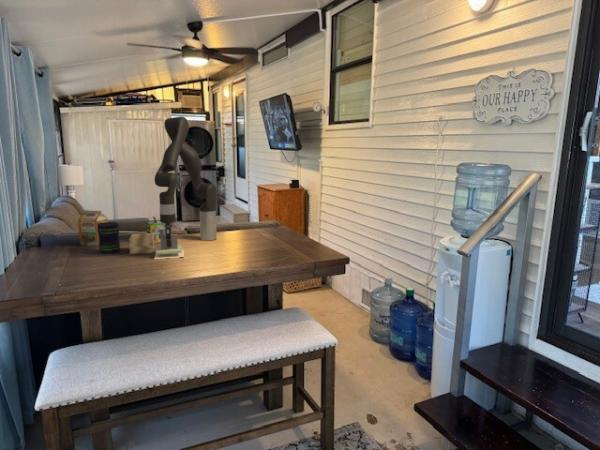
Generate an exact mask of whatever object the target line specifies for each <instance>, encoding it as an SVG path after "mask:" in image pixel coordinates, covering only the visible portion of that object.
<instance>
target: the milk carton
mask: <svg viewBox="0 0 600 450" xmlns="http://www.w3.org/2000/svg"><path fill="white" fill-rule="evenodd" d="M108 219H109V218H108V217H107V215H105V214H104V213H102V210H88V209H87V210H83V211H82V214H81V215H80V216H79V218H78V220H77V222H78V223H77V224H78V226H77V227H78V235H79V245H80V247H95V248H99V235H98V224H99V223H104V222H109V221H108Z"/></svg>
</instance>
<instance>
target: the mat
mask: <svg viewBox="0 0 600 450" xmlns="http://www.w3.org/2000/svg"><path fill="white" fill-rule="evenodd" d="M179 257H184V258H185V249H182V253H177V254H164V255H161V254H156V253H155V254H154V258H153V259H154V260H167V259H166V258H171V259H180V258H179Z"/></svg>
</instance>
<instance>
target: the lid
mask: <svg viewBox="0 0 600 450" xmlns="http://www.w3.org/2000/svg"><path fill="white" fill-rule="evenodd" d="M167 237H170V236H167ZM171 238H172V239H171V247H167V240H166V235H165V234H164V235H160V242H161V243H160V245H158V246H157V247H156V251H155V254H161V255H164V254H177V253H182V250H183V246H182V244H178V234H177V233H172V235H171Z"/></svg>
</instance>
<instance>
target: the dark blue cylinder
mask: <svg viewBox="0 0 600 450" xmlns="http://www.w3.org/2000/svg"><path fill="white" fill-rule="evenodd" d="M119 234H120V228H119V222H117V221H108V222H104V223H99V224H98V235H99V247H98V248H99V254H100V255H113V254H118V253H120V252H121V242H120V238H119V237H120V235H119Z"/></svg>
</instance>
